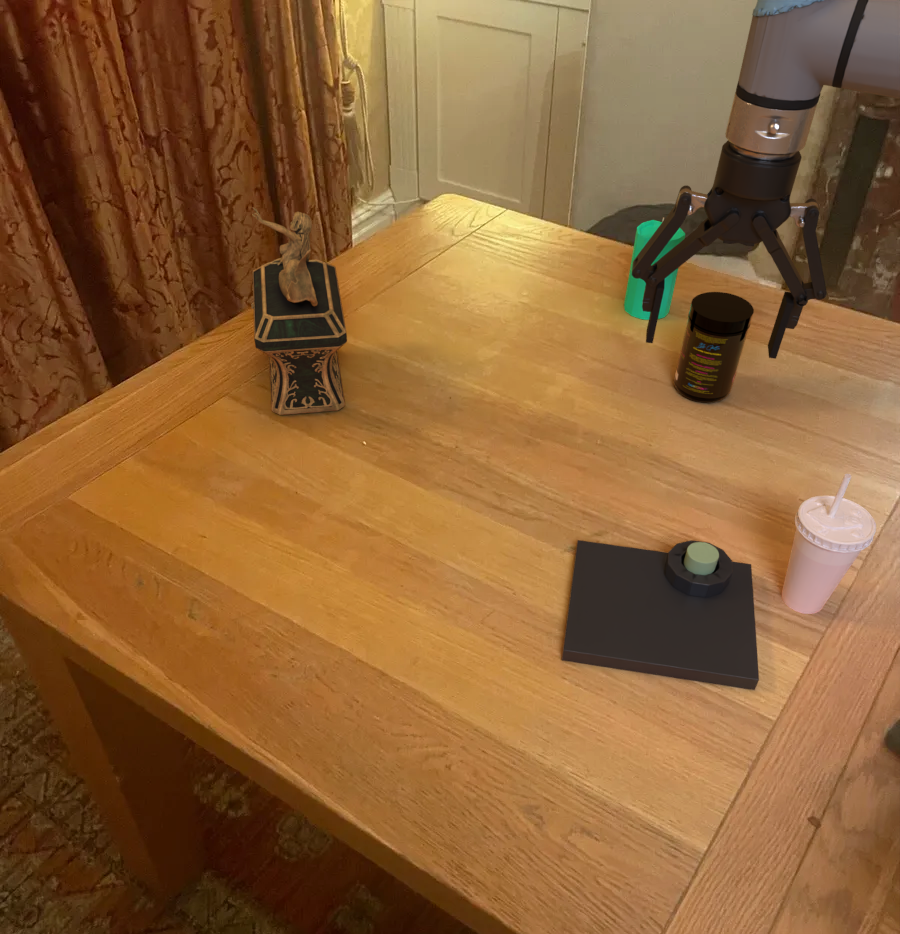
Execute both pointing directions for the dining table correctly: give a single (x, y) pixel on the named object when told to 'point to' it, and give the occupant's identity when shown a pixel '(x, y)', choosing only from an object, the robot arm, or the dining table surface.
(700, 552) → the button
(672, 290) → the candle
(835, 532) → the smoothie
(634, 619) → the scale
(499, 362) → the dining table surface
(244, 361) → the dining table surface
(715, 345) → the supplement container
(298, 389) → the decorative box
